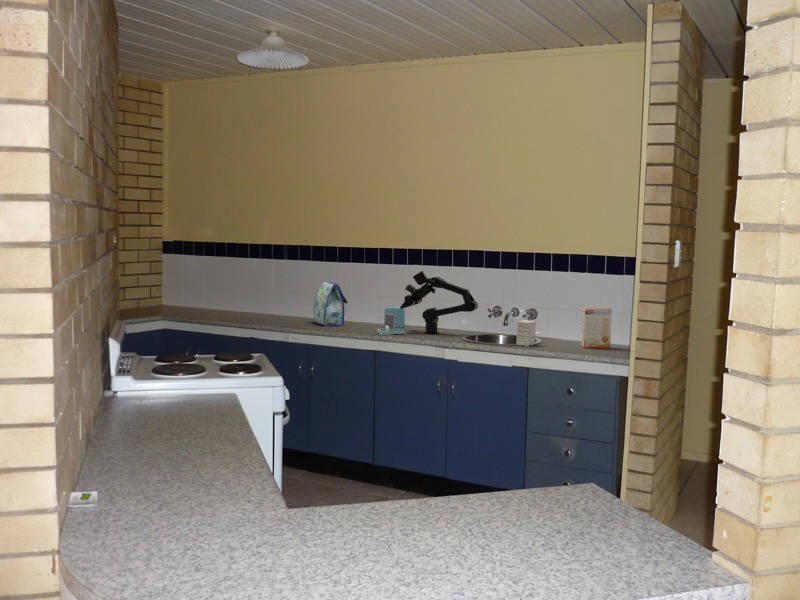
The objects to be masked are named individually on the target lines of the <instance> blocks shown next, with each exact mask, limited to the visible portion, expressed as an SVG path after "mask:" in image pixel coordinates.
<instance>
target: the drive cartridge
mask: <svg viewBox="0 0 800 600" xmlns="http://www.w3.org/2000/svg"><path fill="white" fill-rule="evenodd" d="M384 315H385V325H384V329H386V326H389V329H396V328H395V322H396V314H385V313H384Z"/></svg>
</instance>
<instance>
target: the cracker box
mask: <svg viewBox="0 0 800 600" xmlns="http://www.w3.org/2000/svg"><path fill="white" fill-rule="evenodd" d="M612 311H613V310H612V308H611V307H597V306H596V307H595V306H594V307H593V306H591V307H590V306H589V307H586V306H585V307H582V311H581V312H582V313H581V314H582V315H581V317H582V319H581V348H582V349H583V348H584V349H611V343H612V342H611V341H612V340H611V339H612V337H611V336H612Z"/></svg>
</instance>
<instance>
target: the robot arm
mask: <svg viewBox="0 0 800 600" xmlns="http://www.w3.org/2000/svg"><path fill="white" fill-rule="evenodd" d="M412 279H413V280H414V281H415V283H416V284H417V285H418V286H420V287H419V288H416V287H415V286H413V285H412V284H407V286H406V287H405V289H404V290H405V291H407V292H409V294H407V295H405V296H404V302H403V303H402V304H401V305H400V309H403V308H404V309H405V308H406V309H407V308H409V307H412V306H415V305H418V304H421V303H422V302H423V299H425V298H426V297H427V296H428V295H429V294H430V293H432V294H436V290H437V289H443V290H446V291H450V292H452V293H455V294H458V295H461V296H462V298H463V303H462V304H460V305H455V306H450V307H445V308H441V309H440V308H439V309H437V307H432V308H431V307H430V308H426V309H425V310H423V312H422V316H421V317H422V318H423V320H424V322H425V329H424V330H425V331H424V332H423V333H425V334H429V333H431V334H430V335H434V334H433V333H435V334H440V332H439V331H438V322H439V317H440V316H446V315H450V314H456V313H460V312H463V313H464V312H467V313H468V312H471V313H472V312H474V311H476V310H477V309H478V307H479V304H478V302H477V301H475V298H474V297H473V295H472V293H471V292H470V290H469V289H468V288H464V287H461V286H459V285H457V284H453V283H450V282H448V281H446V280H445V279H443V278H441V276H433V277H431V278H430V277H427V275H426V274H425V272H424V271H419V272H417V273H416V274H414V275H413V277H412Z"/></svg>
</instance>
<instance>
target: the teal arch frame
mask: <svg viewBox="0 0 800 600" xmlns="http://www.w3.org/2000/svg"><path fill="white" fill-rule="evenodd" d="M400 307H401V306H400ZM400 307H396V306H395V307H393V306H392V307H389V306H388V307H385V308H384V316H383V317H384V322H383V324H384V326H385V314H396V322H395V327H403V328H405V323H406V322H405V321H406V320H405V319H406V318H405V317H406V313H405V311H406V310H405V308H403V309H400Z"/></svg>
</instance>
